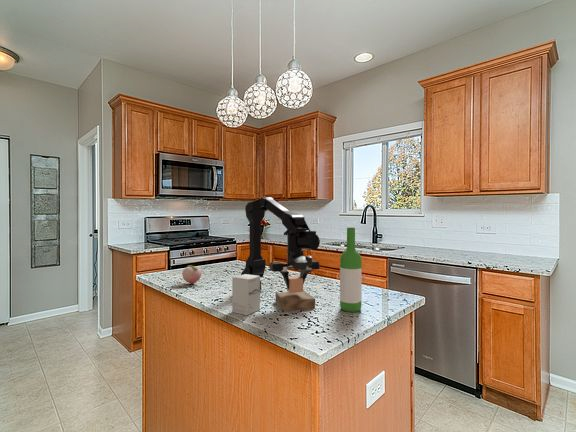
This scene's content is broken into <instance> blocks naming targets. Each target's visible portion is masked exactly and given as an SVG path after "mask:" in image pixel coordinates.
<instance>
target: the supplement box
mask: <svg viewBox="0 0 576 432" xmlns="http://www.w3.org/2000/svg"><path fill="white" fill-rule="evenodd" d="M260 281H261V277H260V276H257V275H249V274H244V275H241V274H240V275H237V276H233V277H232V283H231V284H232V285H231V286H232V288H231V291H232V292H231V293H232V295H231V299H232V301H231V302H232V303H231V304H232V305H231V306H232V307H231V311H232V313H235V314H240V315H244V316H249V315H251V314H252V313H256V312H257V311H260V310H261V293H260V291H261V290H260Z"/></svg>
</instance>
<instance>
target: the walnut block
mask: <svg viewBox="0 0 576 432" xmlns="http://www.w3.org/2000/svg"><path fill="white" fill-rule="evenodd" d="M275 303H276V304H277V305H278V306H279V307H280V309H281V310H282V311H283V312H288V311H289V312H290V311H299V310H311V309H316V298H315V297H313V296H312V295H311V294H309V293H308V292H307V291H305V290H303V292H295V293H290V292H289V291H283V292H275Z"/></svg>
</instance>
